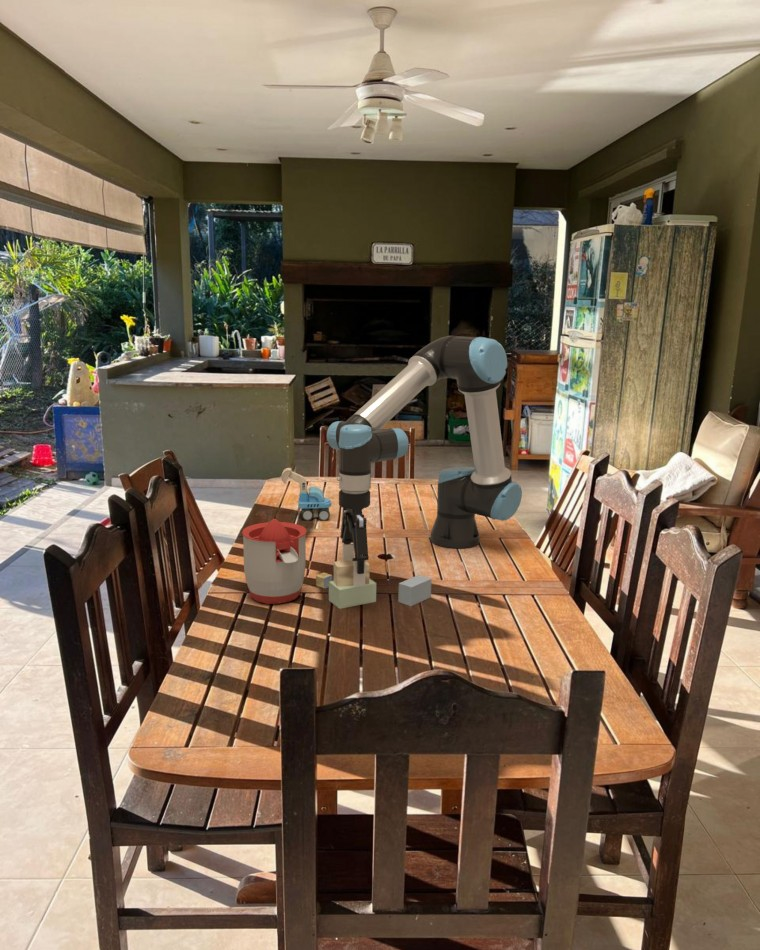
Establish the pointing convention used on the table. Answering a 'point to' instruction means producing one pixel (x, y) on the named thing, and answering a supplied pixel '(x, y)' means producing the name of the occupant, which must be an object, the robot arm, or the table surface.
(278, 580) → the citrus juicer
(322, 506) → the toy excavator
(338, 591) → the sage brick
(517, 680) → the table surface
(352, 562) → the maple brick
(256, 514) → the table surface
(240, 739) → the table surface
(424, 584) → the slate brick
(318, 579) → the alphabet block
